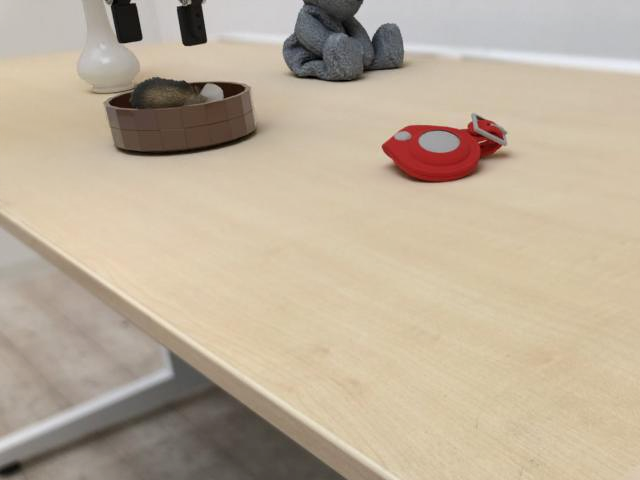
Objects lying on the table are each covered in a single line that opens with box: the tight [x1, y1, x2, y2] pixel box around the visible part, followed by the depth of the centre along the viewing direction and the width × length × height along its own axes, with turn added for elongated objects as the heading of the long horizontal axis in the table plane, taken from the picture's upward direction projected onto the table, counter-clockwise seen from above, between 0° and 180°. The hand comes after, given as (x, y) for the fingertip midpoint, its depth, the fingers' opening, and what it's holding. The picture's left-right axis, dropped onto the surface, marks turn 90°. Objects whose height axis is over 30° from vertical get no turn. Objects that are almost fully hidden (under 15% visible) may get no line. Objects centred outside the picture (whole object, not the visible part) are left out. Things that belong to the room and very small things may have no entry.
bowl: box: [102, 80, 258, 153], centre depth 93 cm, size 16×16×5 cm
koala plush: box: [281, 0, 405, 81], centre depth 126 cm, size 17×18×20 cm
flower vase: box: [76, 0, 141, 94], centre depth 121 cm, size 13×18×25 cm
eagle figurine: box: [129, 76, 224, 109], centre depth 92 cm, size 8×7×9 cm
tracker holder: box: [381, 112, 508, 182], centre depth 77 cm, size 12×4×10 cm
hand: (162, 43), depth 89 cm, fingers open, 9 cm apart
